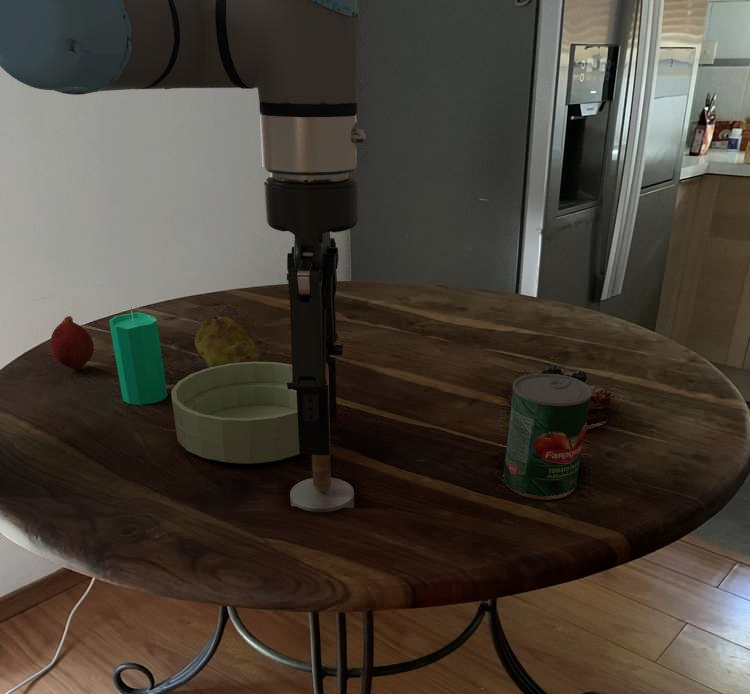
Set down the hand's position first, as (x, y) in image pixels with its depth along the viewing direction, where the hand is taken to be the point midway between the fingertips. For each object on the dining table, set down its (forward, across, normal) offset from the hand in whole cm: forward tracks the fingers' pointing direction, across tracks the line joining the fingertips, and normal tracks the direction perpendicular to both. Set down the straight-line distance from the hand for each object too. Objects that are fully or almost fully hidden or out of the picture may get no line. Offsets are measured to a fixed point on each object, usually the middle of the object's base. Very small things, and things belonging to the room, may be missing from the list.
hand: (318, 435), depth 70 cm
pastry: (+8, +26, -28) cm, 39 cm away
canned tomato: (+8, +7, -23) cm, 25 cm away
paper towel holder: (+8, 0, 0) cm, 8 cm away
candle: (+8, +28, +27) cm, 40 cm away
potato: (+8, +36, +17) cm, 41 cm away
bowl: (+8, +17, +10) cm, 21 cm away
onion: (+8, +37, +40) cm, 55 cm away
